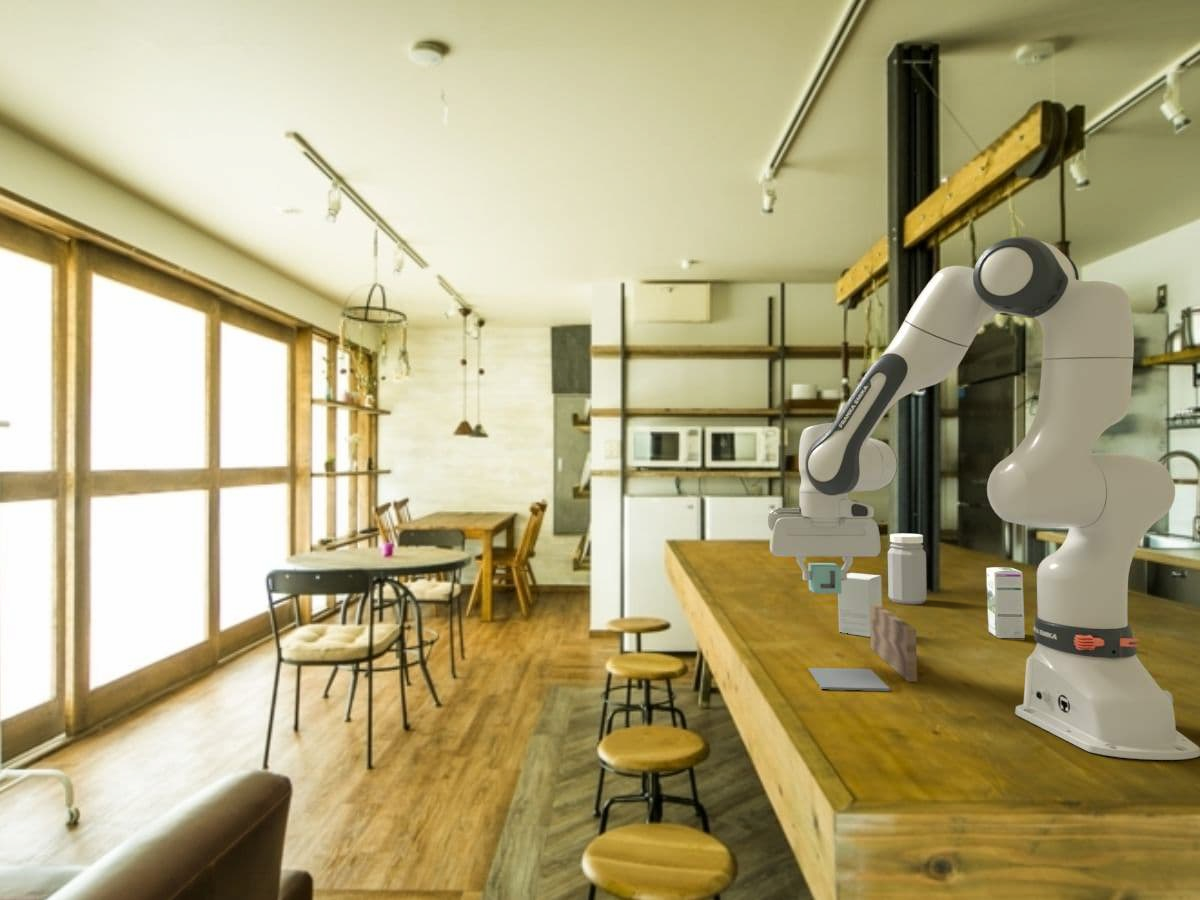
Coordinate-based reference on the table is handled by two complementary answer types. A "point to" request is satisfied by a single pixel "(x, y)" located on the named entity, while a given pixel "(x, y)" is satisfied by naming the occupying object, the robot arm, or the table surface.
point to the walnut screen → (894, 641)
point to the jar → (907, 569)
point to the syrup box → (1005, 602)
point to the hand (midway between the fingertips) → (824, 579)
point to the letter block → (825, 578)
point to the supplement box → (858, 602)
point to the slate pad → (848, 679)
